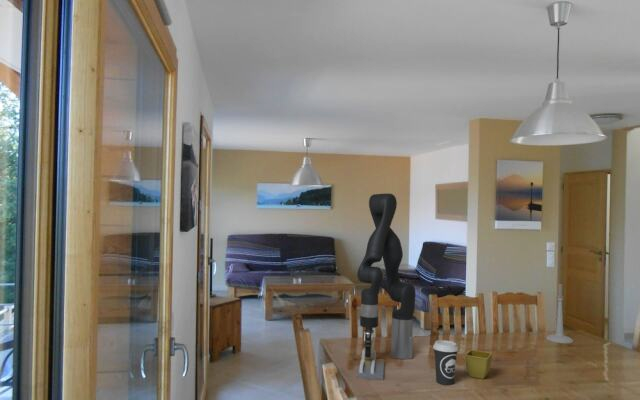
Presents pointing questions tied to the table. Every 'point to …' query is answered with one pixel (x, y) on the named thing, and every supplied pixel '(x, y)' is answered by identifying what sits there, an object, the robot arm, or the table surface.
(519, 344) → the table surface
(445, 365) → the coffee cup
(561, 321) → the candlestick
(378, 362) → the door and jamb plate
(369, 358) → the brass bolt
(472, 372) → the flower pot
